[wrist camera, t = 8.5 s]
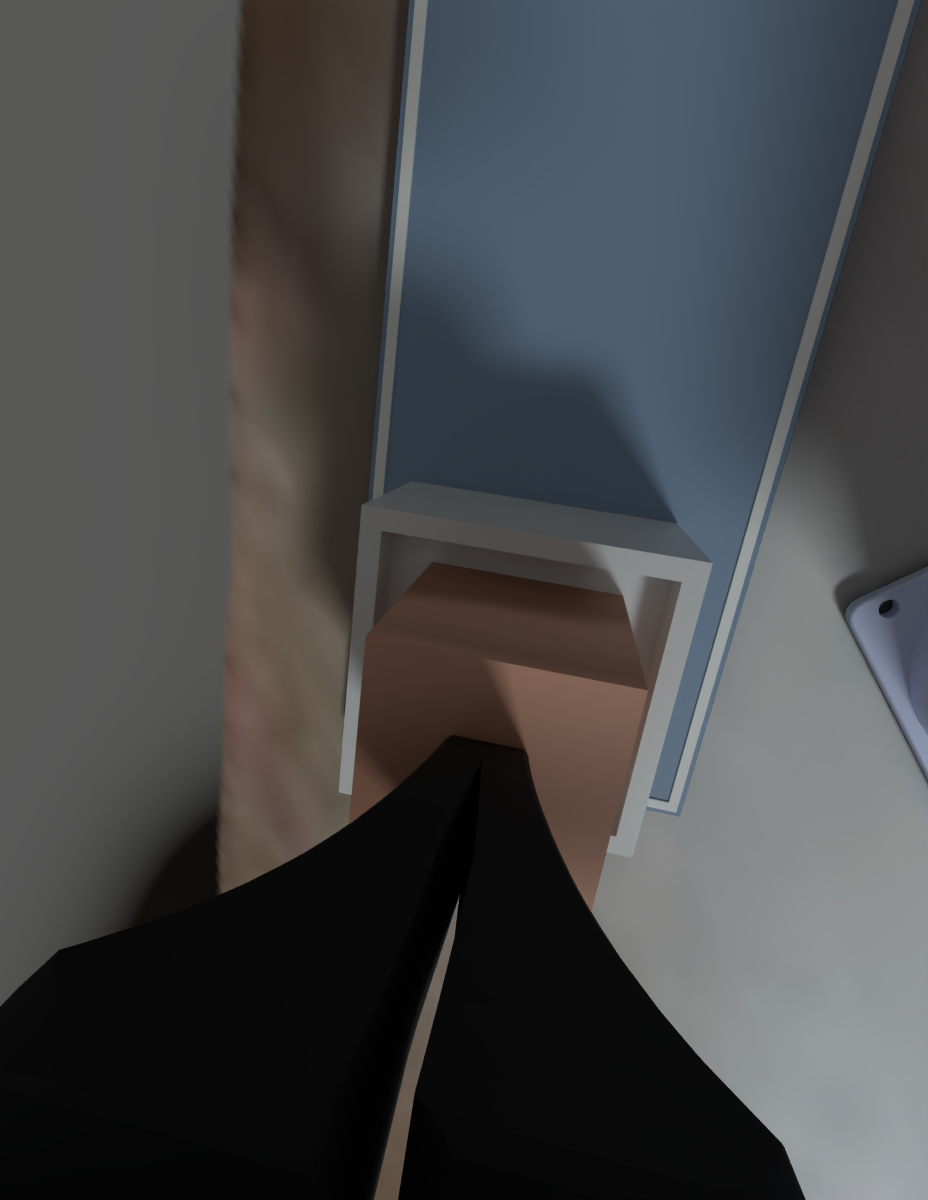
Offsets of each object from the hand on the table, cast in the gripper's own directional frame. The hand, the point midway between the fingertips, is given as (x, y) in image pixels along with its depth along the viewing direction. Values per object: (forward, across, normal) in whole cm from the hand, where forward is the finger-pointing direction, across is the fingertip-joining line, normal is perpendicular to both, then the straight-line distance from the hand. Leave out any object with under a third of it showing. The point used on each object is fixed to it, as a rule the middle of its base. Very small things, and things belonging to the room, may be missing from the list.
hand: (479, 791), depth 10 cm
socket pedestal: (+8, 0, 0) cm, 8 cm away
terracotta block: (+5, 0, 0) cm, 5 cm away
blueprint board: (+9, 0, -6) cm, 11 cm away
